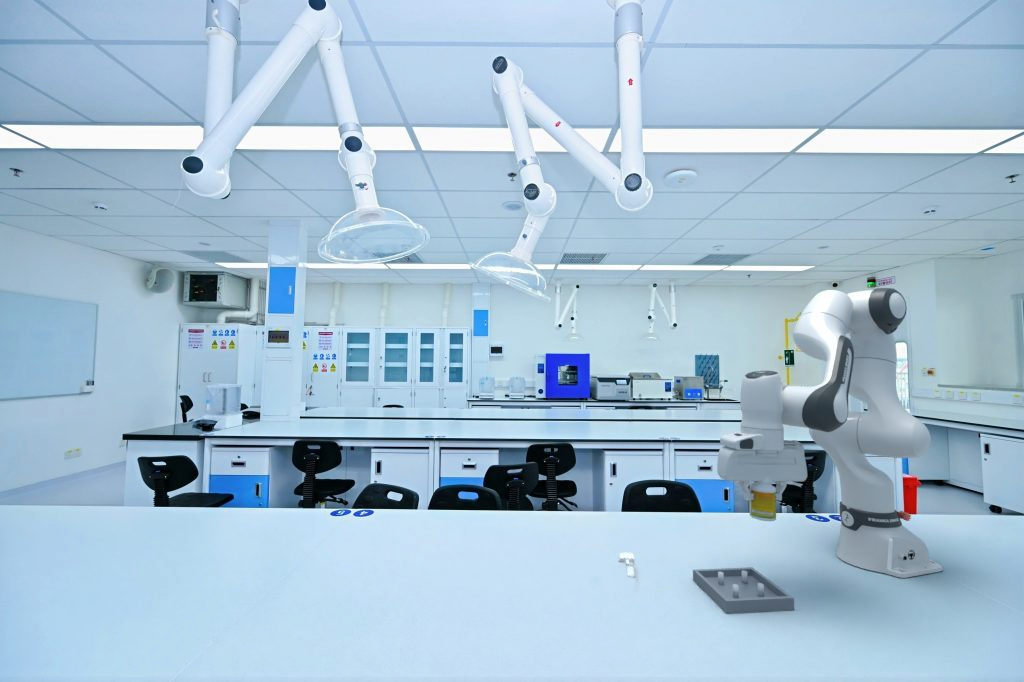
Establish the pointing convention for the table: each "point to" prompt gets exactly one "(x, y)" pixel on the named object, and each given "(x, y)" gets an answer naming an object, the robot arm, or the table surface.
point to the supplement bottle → (763, 500)
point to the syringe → (627, 562)
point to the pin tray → (742, 590)
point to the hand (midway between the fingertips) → (762, 500)
